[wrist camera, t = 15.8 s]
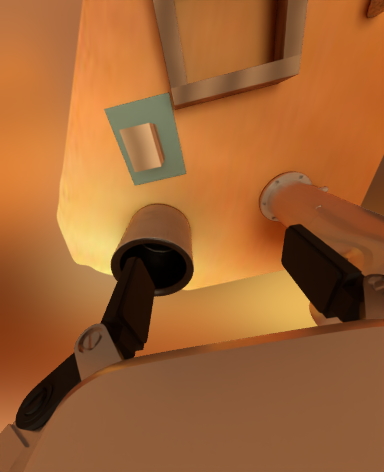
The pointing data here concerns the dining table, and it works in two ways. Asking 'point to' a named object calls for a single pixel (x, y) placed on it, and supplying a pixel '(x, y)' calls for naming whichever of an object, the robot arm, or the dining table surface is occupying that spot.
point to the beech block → (143, 146)
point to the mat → (163, 117)
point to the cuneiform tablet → (375, 8)
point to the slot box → (283, 68)
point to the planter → (158, 247)
